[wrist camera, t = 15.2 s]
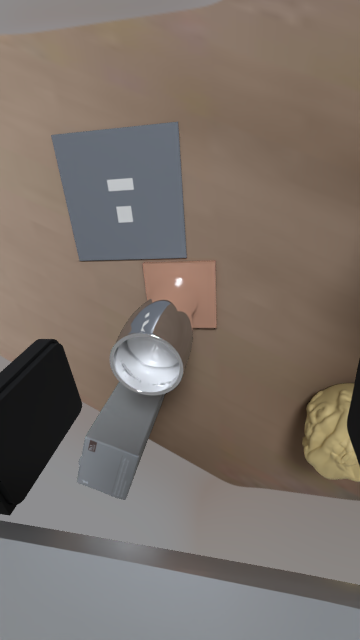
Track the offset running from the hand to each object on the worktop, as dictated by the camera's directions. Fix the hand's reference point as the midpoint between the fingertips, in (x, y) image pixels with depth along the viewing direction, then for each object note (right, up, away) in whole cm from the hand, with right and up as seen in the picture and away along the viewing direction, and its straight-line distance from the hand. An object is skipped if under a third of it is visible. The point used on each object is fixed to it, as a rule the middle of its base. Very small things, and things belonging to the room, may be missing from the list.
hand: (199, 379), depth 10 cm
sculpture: (+23, -10, +34) cm, 42 cm away
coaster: (0, +5, +30) cm, 31 cm away
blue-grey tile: (-7, +16, +26) cm, 31 cm away
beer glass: (-1, +5, +30) cm, 30 cm away
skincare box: (-6, -8, +38) cm, 40 cm away
